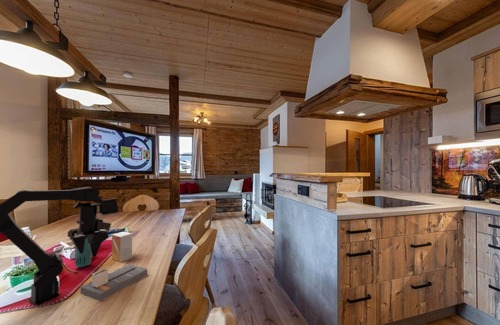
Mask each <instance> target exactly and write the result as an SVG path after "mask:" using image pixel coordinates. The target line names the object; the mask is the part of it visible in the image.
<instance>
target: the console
mask: <svg viewBox="0 0 500 325" xmlns="http://www.w3.org/2000/svg"><path fill="white" fill-rule="evenodd" d="M147 275H148V268H144V267H141V266H138V265H132V264H127V265H125V266H123V267H121V268H118V269H115V270H114V271H112V272H110V273H109V272H108V282H107V283H105V284H103V285H102V286H100V287H94V286H92V281H90V282H88V283H86V284H84V285H82V286H80V294H81V295H83V296H86V297H89V298H91V299H94V300H96V301H98V302H101V301H103V300H104V299H107V298H108V297H110V296H112V295H115V293H118V292H119V291H120V290H121V291H122V289H124V288H126V287H128V286H130V285H131V284H133V283H135V282H137V281H139V280H141V279H142V278H144V277H146V276H147Z"/></svg>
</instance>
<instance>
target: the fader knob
mask: <svg viewBox="0 0 500 325" xmlns="http://www.w3.org/2000/svg"><path fill="white" fill-rule="evenodd" d="M108 274H109V270H107V269H101V270H99V271H96V272H93V273H92V274H91V276H92V278H91V279H92V281H91V282H92V286H94V287H100V286H102V285H103V284H105V283H107V282H108Z"/></svg>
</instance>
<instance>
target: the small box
mask: <svg viewBox="0 0 500 325" xmlns="http://www.w3.org/2000/svg"><path fill="white" fill-rule="evenodd" d="M111 236H112V237H111V259H112V260H115V261H116V262H119V263H122V262H125V261H128V260H129V259H133V233H132V232H127V231H121V232H118V233H113V234H112V235H111Z"/></svg>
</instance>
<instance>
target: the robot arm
mask: <svg viewBox="0 0 500 325" xmlns="http://www.w3.org/2000/svg"><path fill="white" fill-rule="evenodd" d="M65 200H66V201H69V200H70V201H77V202H76V203H75V204H73V208H74V209H78V210H79V214H78V216H79V219H78V220H76V224H78V227H77V228H76V227H75V228H72V229H71V228H70V230H68V231H67V237H68V238H69V240H70V241H71V242H72V244H73V245H74V248H75V247H76V248H77V250H78V251H79V253H80V254H81V253H83V251H84V244H85V239H86V238H87V240H88V242H87V244H88V247H89V249H90V252H91V258H95V257H97V255H98V252H99V249H100V247H101V245H102V243H104V241H106V240H107V239H109V238H110V237H109V236H110V235H109V232H108V231H110V228H111V225H112V222H105V221H104V220H103V219H99V218H97V217H98V216H97V215H98V214H100V215H101V216H105V215H106V216H107V215H114V214H118V211H119V206H118V201H117V198H115V197H113V198H107V199H103V198H102V197H100V196H99V192H98V190H97V189H96V188H94V187H91V186H85V187H78V188H72V189H49V190H44V189H43V190H40V189H39V190H29V189H28V190H27V189H22V190H19V191H17V192H16V193H15V194H13V195H12V196H10V197H9V198H7V199H5V200H3V201H2V202H0V233H1V234H2V235H4V237H6V238H7V239H8V240H9V241H10V242H11V243H12V244H13V245H15V246H16V248H18V249H19V250H21V252H22V253H24V254H25V255H26V256H27V257H28V258H29V259H30V260H31V261H32V262H33V263H34V264H35V266H36V268H37V269H38V270H37V271H36V272H34V274H33V284H31V285H30V286H31V287H30V290H31V291H30V298H29V299H28V302H29V303H31V304H33V305H35V306H40V305H41V304H43V303H46V302H48V301H50V300H53V299H54V298H57V297H59V296H60V293H59V290H60V289H59V288H60V281H59V280H58V276H59V275H61V273H62V271H64V270H63V269H64V264H63V263H64V260H63V258H62V256H60V255H58V254H57V253H56V251H55V250H53V251H52V252H51V253H50V252H49V251H46V250H44V248H43V247H41V246H40V245H39V244H38V243H37V242H36V241H35V240H34V239H33V238H32V237H31V236H29V234H28V233H27V232H25V231H24V230H23V229H22V228H21V227H20V226H19V225H18V224H17V223H16V220H15V219H14V217H13V215H12V214H11V213H12V212H13V211H15V210H16V209H17V208H19V207H20V206H22V205H23V204H25V203H26V202H40V201H42V202H45V201H46V202H47V201H65ZM91 202H94V203H91ZM104 230H105V231H104Z"/></svg>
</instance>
